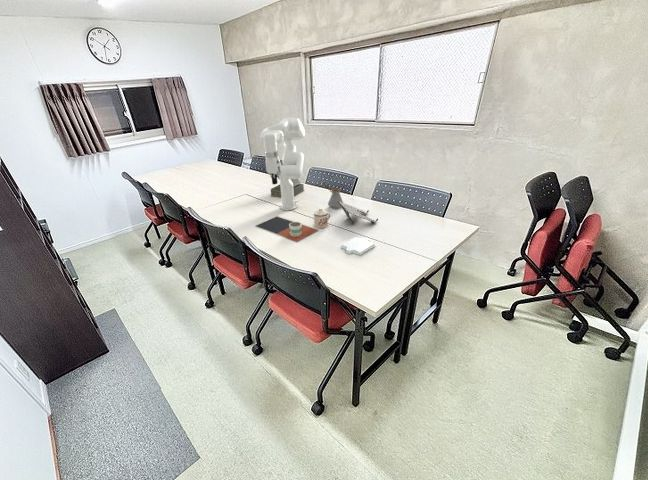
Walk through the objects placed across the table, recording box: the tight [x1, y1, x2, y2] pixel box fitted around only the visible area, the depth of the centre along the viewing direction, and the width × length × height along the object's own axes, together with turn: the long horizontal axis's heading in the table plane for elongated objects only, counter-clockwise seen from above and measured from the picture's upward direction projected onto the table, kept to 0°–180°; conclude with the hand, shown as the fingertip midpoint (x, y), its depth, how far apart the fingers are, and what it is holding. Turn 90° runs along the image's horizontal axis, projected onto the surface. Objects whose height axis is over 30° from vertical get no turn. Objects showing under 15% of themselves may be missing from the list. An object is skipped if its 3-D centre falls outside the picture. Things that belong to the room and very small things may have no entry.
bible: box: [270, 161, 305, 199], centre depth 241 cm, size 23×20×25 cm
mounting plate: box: [340, 236, 376, 256], centre depth 158 cm, size 18×13×2 cm
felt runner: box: [255, 216, 319, 243], centre depth 187 cm, size 20×39×1 cm, turn 46°
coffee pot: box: [323, 182, 344, 210], centre depth 212 cm, size 21×12×15 cm, turn 29°
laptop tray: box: [337, 201, 379, 224], centre depth 188 cm, size 23×23×9 cm
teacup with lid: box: [313, 207, 331, 229], centre depth 184 cm, size 12×9×12 cm
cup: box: [289, 221, 303, 237], centre depth 176 cm, size 8×8×6 cm
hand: (275, 183), depth 186 cm, fingers closed
